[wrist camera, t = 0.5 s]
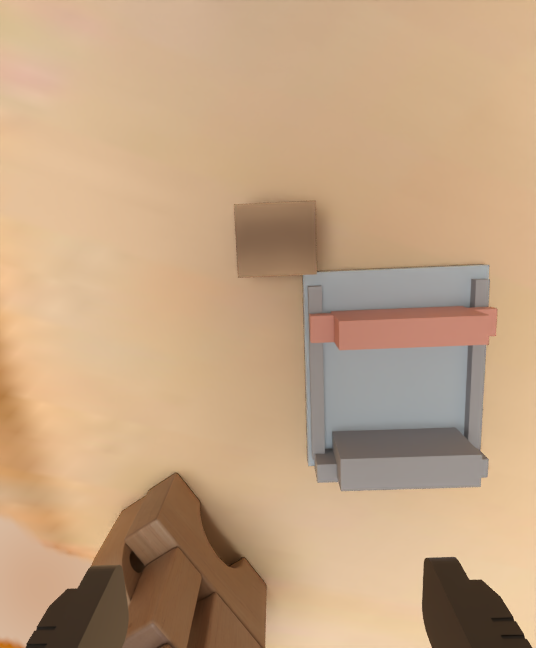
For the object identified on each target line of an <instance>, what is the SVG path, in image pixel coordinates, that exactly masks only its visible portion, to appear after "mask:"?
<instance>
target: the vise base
mask: <svg viewBox="0 0 536 648" xmlns="http://www.w3.org/2000/svg"><path fill="white" fill-rule="evenodd" d="M302 276H303V312H304V349H305V385H306V421H307V458H308V466H315V471H316V477H317V482H318V483H320V482H339V486H340V489H341V491H360V490H393V489H426V488H459V487H481V478H482V477H487V476H488V460H489V459H488V458H487V457H486V456H485V455H484V454H483V453H482V452H481V451H480V447H481V429H482V411H483V393H484V376H485V358H486V345H468V346H442V347H415V348H389V349H362V350H339V349H338V347H337V346H336V344H335V342H326V343H311V341H310V320H309V314H321V313H331V311H347V310H372V309H397V308H422V307H447V306H464V307H467V308H472V307H488V304H489V286H490V279H489V265H484V264H480V265H457V266H433V267H409V268H385V269H362V270H338V271H317V274H314V275H302Z"/></svg>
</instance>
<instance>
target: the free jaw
mask: <svg viewBox="0 0 536 648" xmlns="http://www.w3.org/2000/svg"><path fill="white" fill-rule="evenodd" d="M309 320H310V341H311V343H326V342H335V344H336V346H337V347H338V349H339V350H362V349H389V348H415V347H442V346H468V345H489V336H496V324H497V309H496V308H493V307H472V308H467V307H464V306H447V307H422V308H397V309H372V310H347V311H331V313H321V314H309Z"/></svg>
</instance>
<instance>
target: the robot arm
mask: <svg viewBox="0 0 536 648" xmlns="http://www.w3.org/2000/svg"><path fill="white" fill-rule="evenodd" d="M422 612H423V619H424V624H425V629H426V632H427V635H428V638H429V641H430V643H431V646H432V648H532V647H531V645H530V643H529V642H528V640H527V639H525V637H524V634H523V632H522V631H521V629H520V627H519V626H518V624H517V622H516V621H514V619H513V616H512V614H511V613H510V611H509V610H508V608H507V606H506V605H505V603H504V602H503V600H502V598H501V597H500V596H499V595H498V594H497V593H496V592H495V591H493V590H492V589H491V588H490V587H489V586H488V585H487V584H486V583H485V582H483V581H482V580H469V578H468V577H467V575H466V573H465V571H464V570H463V568H462V566H461V564H460V563H459V561H458V560H457V559H456V558H455V557H441V558H426V559H425V561H424V573H423V597H422ZM128 621H129V611H128V603H127V596H126V588H125V581H124V574H123V569H122V566H121V565H94V566H91V567H90V568H89V569H88V571H87V572H86V574H85V576H84V578H83V580H82V581H81V583H80V586H79V587H78V589H67V590H66V591H65V592H64V593H63V594H62V595H61V596H60V597H58V598H57V599H56V600H55V601H54V602H53V603H52V604H51V605H50V606H49V608H48V609H47V611H46V613H45V614H44V616H43V618H42V619H41V621H40V623H39V624H38V626H37V630H36V631H34V633H33V634H32V636H31V637H30V639H29V641H28V642H27V646H26V648H122V647H123V644H124V642H125V638H126V634H127V629H128Z"/></svg>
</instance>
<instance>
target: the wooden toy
mask: <svg viewBox="0 0 536 648" xmlns="http://www.w3.org/2000/svg"><path fill="white" fill-rule="evenodd" d="M200 506H201V504H200V501H199V500H198V499H197V497H196V496H195V495H194V494H193V492H192V491H191V490H190V489H189V487H188V486H187V485H186V484H185V482H184V481H183V480H182V479H181V477H180V476H179V475H178V474H177V473H175V474H173V475H172V476H170V477H169V478H167V479H166V480H164V481H163V482H161V483H159V484H158V485H156V486H155V487H153V488H152V489H150V490H149V491H148V493H147V495H146V496H145V497H143V498H142V499H140V500H138V501H137V502H135V503H134V504H132V505H131V506H129V507H128V508H126V509H125V510H123V511H122V512H121V514H120V515H119V517H118V519H117V520H116V522H115V524H114V525H113V527H112V529H111V531H110V532H109V534H108V536H107V538H106V539H105V541H104V543H103V544H102V546H101V548H100V550H99V551H98V553H97V555H96V557H95V558H94V561H93V563H92V565H91V566H94V565H121V566H122V569H123V574H124V581H125V588H126V596H127V603H128V611H129V621H128V629H127V634H126V638H125V642H124V644H123V647H122V648H265V629H266V584H265V583H264V582H263V580H262V579H261V578H260V577H259V575H258V574H257V573H256V572H255V570H254V569H253V568H252V567H251V565H250V564H249V563H248V562H247V560H246V559H245V558H242V559H241V560H239V561H237V562H236V563H234V564H232V565H231V566H227V565H226V564H225V563H224V562H223V561H222V560H221V559H220V558H219V557H218V556H217V554H216V553H215V551H214V550H213V548H212V547H211V545H210V544H209V542H208V539H207V537H206V534H205V532H204V529H203V526H202V521H201V516H200Z"/></svg>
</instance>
